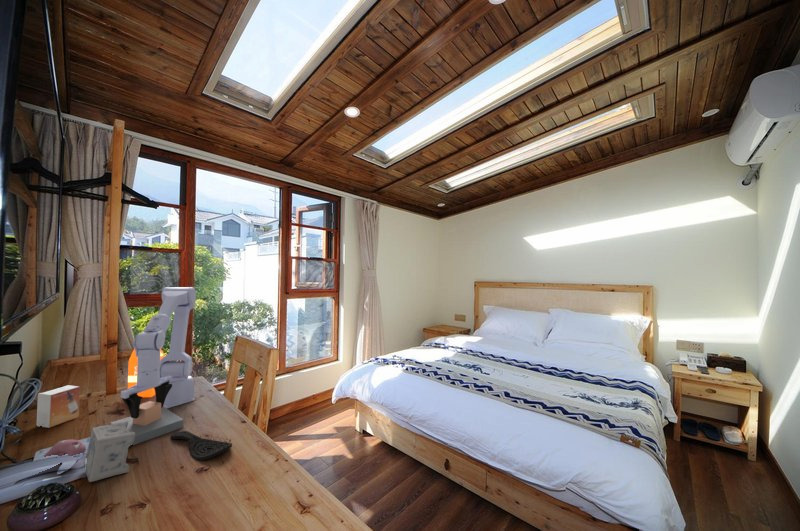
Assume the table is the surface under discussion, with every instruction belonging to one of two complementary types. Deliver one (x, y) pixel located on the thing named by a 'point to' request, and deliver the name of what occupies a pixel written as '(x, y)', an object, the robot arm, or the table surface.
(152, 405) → the terracotta block
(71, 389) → the small box
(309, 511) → the table surface
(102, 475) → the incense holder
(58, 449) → the pink rounded lump
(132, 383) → the orange juice
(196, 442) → the hairbrush
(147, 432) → the plinth
